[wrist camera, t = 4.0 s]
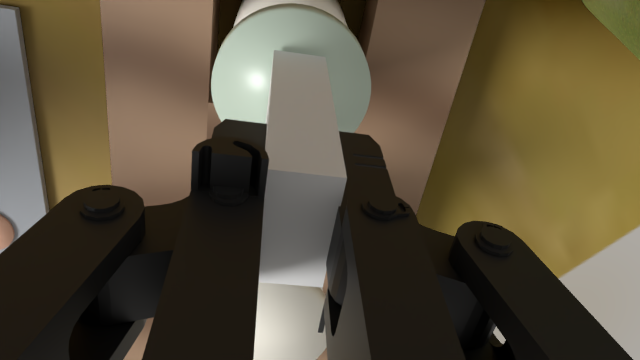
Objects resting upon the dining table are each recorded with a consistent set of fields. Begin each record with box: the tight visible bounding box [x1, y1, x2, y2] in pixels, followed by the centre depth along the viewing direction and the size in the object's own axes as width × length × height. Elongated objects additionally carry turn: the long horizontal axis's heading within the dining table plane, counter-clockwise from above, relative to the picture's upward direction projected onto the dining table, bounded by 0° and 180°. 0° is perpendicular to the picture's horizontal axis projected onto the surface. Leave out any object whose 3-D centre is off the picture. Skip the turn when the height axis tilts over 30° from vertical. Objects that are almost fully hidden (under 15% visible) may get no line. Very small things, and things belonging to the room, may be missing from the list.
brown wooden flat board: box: [100, 0, 486, 360], centre depth 25 cm, size 25×14×2 cm, turn 171°
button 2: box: [211, 0, 371, 133], centre depth 18 cm, size 5×5×7 cm
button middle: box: [253, 282, 327, 360], centre depth 20 cm, size 5×5×7 cm
